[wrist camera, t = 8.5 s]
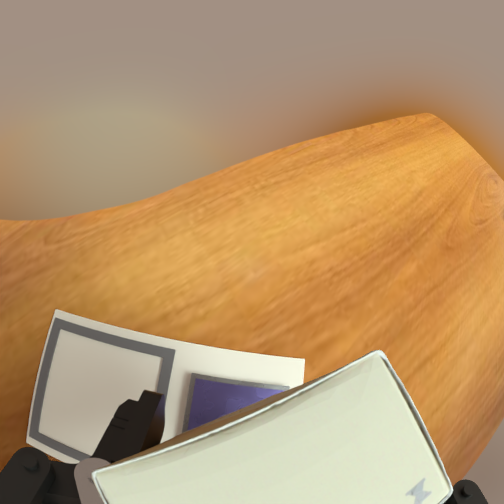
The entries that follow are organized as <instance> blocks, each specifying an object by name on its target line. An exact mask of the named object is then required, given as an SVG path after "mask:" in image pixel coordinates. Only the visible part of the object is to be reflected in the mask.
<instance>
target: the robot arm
mask: <svg viewBox="0 0 504 504" xmlns="http://www.w3.org/2000/svg"><path fill="white" fill-rule="evenodd" d="M164 427H165V395H164V394H162V393H157V392H153V391H149V390H144V391H143V392H142V394H141V396H140V398H139V400H138V401H135V400H131V399H128V400H126V401H125V402H124V403H122V404H121V405H119V407H118V408H117V410H116V412H115V414H114V417H113V418H112V419H111V421H110V423H109V426H108V427H107V429H106V431H105V432H104V434H103V436H102V438H101V440H100V442H99V444H98V446H97V448H96V449H95V451H94V453H93V455H92V456H91V457H90V458H87V459H84V460H82V461H80V462H79V463H77V464H70V463H63V462H57V461H51V460H49V459H48V457H47V456H46V454H45V453H43V452H42V451H41V450H39V449H36V448H33V447H25V448H21V449H19V450H18V451H16V453H15V454H14V455H13V456H12V458H11V459H10V460H9V462H8V463H7V465H6V466H5V467H4V469H3V470H2V471H1V473H0V504H104V502H103V500H102V498H101V496H100V494H99V492H98V490H97V488H96V486H95V484H94V482H93V480H92V476H91V473H92V471H93V470H95V469H98V468H101V467H104V466H107V465H109V464H112V463H114V462H117V461H119V460H122V459H125V458H127V457H130V456H133V455H135V454H138V453H140V452H142V451H145V450H147V449H149V448H151V447H154V446H156V445H158V444H160V442H161V439H162V436H163V432H164ZM443 504H488V502H487V501H486V499H485V497H484V495H483V494H482V492H481V490H480V489H479V487H478V486H477V485H476V484H475V483H474V482H473V481H470V480H460V481H458V482H457V483H456V484H455V485H454V486H453V492H452V494H451V496H450V497H449V498H448V499H447V500H446V501H445V502H444V503H443Z"/></svg>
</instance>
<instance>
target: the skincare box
mask: <svg viewBox="0 0 504 504" xmlns="http://www.w3.org/2000/svg"><path fill="white" fill-rule="evenodd" d="M91 476H92V480H93V482H94V484H95V486H96V488H97V490H98V492H99V494H100V496H101V498H102V500H103V502H104V504H443V503H444V502H445V501H446V500H447V499H448V498H449V497H450V496H451V494H452V492H453V487H452V485H451V482H450V480H449V478H448V476H447V474H446V471H445V468H444V466H443V463H442V461H441V459H440V457H439V455H438V452H437V450H436V447H435V445H434V443H433V441H432V439H431V437H430V435H429V433H428V431H427V429H426V427H425V425H424V422H423V420H422V418H421V416H420V414H419V412H418V410H417V409H416V407H415V405H414V403H413V401H412V399H411V397H410V395H409V393H408V392H407V390H406V388H405V386H404V385H403V383H402V381H401V380H400V379H399V377H398V376H397V374H396V372H395V371H394V369H393V367H392V366H391V364H390V362H389V360H388V358H387V357H386V355H385V354H384V353H383V351H381V350H375V351H371V352H369V353H368V354H366V355H364V356H362V357H360V358H359V359H357V360H355V361H353V362H351V363H349V364H347V365H345V366H343V367H341V368H339V369H337V370H335V371H333V372H330V373H328V374H326V375H324V376H321V377H319V378H317V379H314V380H312V381H309V382H307V383H304V384H302V385H299V386H297V387H294V388H292V389H289V390H286V391H284V392H281V393H278V394H275V395H273V396H270V397H268V398H266V399H263V400H261V401H258V402H256V403H254V404H251V405H249V406H247V407H244V408H242V409H239V410H237V411H235V412H232V413H230V414H227V415H225V416H222V417H220V418H218V419H215V420H213V421H211V422H208V423H206V424H204V425H201V426H199V427H196V428H194V429H192V430H189V431H186V432H184V433H181V434H179V435H177V436H175V437H173V438H171V439H169V440H167V441H165V442H163V443H161V444H158V445H156V446H154V447H151V448H149V449H147V450H145V451H142V452H140V453H138V454H135V455H133V456H130V457H127V458H125V459H122V460H119V461H117V462H114V463H112V464H109V465H107V466H104V467H101V468H98V469H95V470H93V471H92V473H91Z"/></svg>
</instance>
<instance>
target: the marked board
mask: <svg viewBox="0 0 504 504" xmlns="http://www.w3.org/2000/svg"><path fill="white" fill-rule="evenodd" d="M304 364H305V359H299V358H289V357H280V356H271V355H263V354H255V353H248V352H241V351H234V350H228V349H222V348H216V347H210V346H204V345H199V344H193V343H188V342H183V341H178V340H173V339H168V338H163V337H159V336H154V335H150V334H145V333H141V332H137V331H133V330H128V329H124V328H120V327H116V326H113V325H109V324H105V323H101V322H98V321H94V320H91V319H87V318H84V317H80V316H77V315H74V314H70V313H67V312H64V311H61V310H58V309H56V310H55V313H54V316H53V319H52V322H51V325H50V329H49V332H48V335H47V339H46V342H45V346H44V350H43V354H42V357H41V361H40V366H39V370H38V374H37V379H36V383H35V388H34V393H33V399H32V404H31V410H30V416H29V423H28V431H27V439H26V443H28V444H30V445H32V446H33V447H35V448H37V449H39V450H41V451H43V452H45V453H47V454H49V455H50V456H52V457H55V458H57V459H59V460H61V461H63V462H65V463H70V464H77V463H79V462H80V461H82V460H84V459H87V458H90V457H91V456H92V455H93V453H94V451H95V449H96V448H97V446H98V444H99V442H100V440H101V438H102V436H103V434H104V432H105V431H106V429H107V427H108V426H109V423H110V421H111V419H112V418H113V417H114V414H115V412H116V410H117V408H118V407H119V405H121V404H122V403H124V402H125V401H126V400H128V399H131V400H135V401H138V400H139V398H140V396H141V394H142V392H143V391H144V390H149V391H153V392H157V393H162V394H164V395H165V427H164V432H163V436H162V439H161V442H160V444H161V443H163V442H165V441H167V440H169V439H171V438H173V437H175V436H177V435H179V434H181V433H182V428H183V421H184V415H185V409H186V403H187V397H188V391H189V385H190V379H191V374H192V373H196V374H202V375H207V376H213V377H219V378H226V379H232V380H239V381H247V382H254V383H263V384H272V385H282V386H290V389H292V388H294V387H297V386H299V385H302V384H303V377H304Z"/></svg>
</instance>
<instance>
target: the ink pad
mask: <svg viewBox="0 0 504 504" xmlns="http://www.w3.org/2000/svg"><path fill="white" fill-rule="evenodd" d="M289 389H290V386H282V385H272V384H263V383H254V382H247V381H239V380H232V379H226V378H219V377H213V376H207V375H202V374H196V373H192V374H191V379H190V385H189V391H188V397H187V403H186V409H185V415H184V421H183V428H182V433H184V432H186V431H189V430H192V429H194V428H196V427H199V426H201V425H204V424H206V423H208V422H211V421H213V420H215V419H218V418H220V417H222V416H225V415H227V414H230V413H232V412H235V411H237V410H239V409H242V408H244V407H247V406H249V405H251V404H254V403H256V402H258V401H261V400H263V399H266V398H268V397H270V396H273V395H275V394H278V393H281V392H284V391H286V390H289Z"/></svg>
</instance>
